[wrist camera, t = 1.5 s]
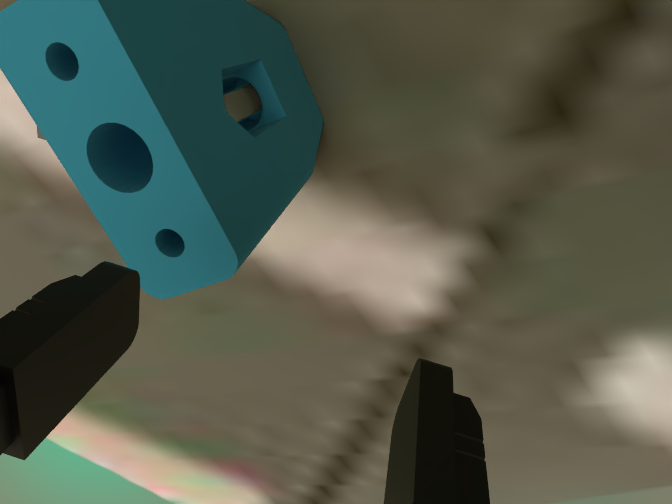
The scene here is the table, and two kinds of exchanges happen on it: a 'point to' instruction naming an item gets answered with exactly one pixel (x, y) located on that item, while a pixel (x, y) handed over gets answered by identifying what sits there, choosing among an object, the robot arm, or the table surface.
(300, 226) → the table surface
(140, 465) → the table surface
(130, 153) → the block
